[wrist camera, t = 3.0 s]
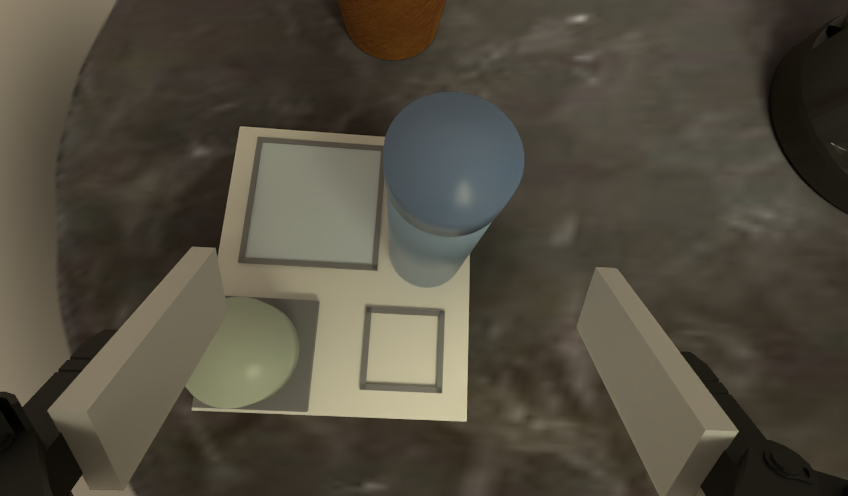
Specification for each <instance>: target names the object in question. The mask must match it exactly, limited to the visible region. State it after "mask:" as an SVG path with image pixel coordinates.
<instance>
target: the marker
mask: <svg viewBox="0 0 848 496" xmlns="http://www.w3.org/2000/svg"><path fill="white" fill-rule="evenodd" d="M383 164H384V180H385V187H386V192H387V211H388V231H389V251H390V259H391V263H392V265H393V267H394V269H395V271H396V272H397V274H398V275H399V276H400V277H401V278H402V279H403V280H405V281H406V282H408V283H410V284H412V285H414V286H418V287H423V288H431V287H436V286H440V285H442V284H444V283H446V282H448V281H449V280H450V279H451V278H452V277H453V276H454V275H455V274H456V273H457V271H458V270H459V269H460V267H461V266H462V264H463V263H464V261H465V260H466V259H467V257H468V256H469V254H470V253H471V251H472V250H473V248H474V247H475V246H476V244H477V243H478V241H479V240H480V238H481V237H482V236H483V234H484V233H485V231H486V230H487V228H488V227H489V226H490V224H491V223H492V221H493V220H494V219H495V218H496V217H497V216H498V215H499V214H500V212H501V211H502V210H503V208H504V207H505V205H506V204H507V203H508V201H509V200H510V198H511V197H512V195H513V194H514V193H515V191H516V189H517V187H518V186H519V184H520V181H521V178H522V175H523V170H524V149H523V145H522V141H521V139H520V136H519V134H518V132H517V130H516V128H515V126H514V125H513V123H512V122H511V121H510V119H509V118H508V117H507V116H506V115H505V114H504V113H503V112H502V111H501V110H500V109H499V108H497V107H496V106H494V105H493V104H491V103H490V102H488V101H486V100H484V99H482V98H480V97H477V96H475V95H471V94H467V93H461V92H438V93H434V94H429V95H427V96H424V97H421V98H419V99H417V100H415V101H413V102H412V103H410V104H409V105H407V106H406V107H405V108H404V109H403V110H401V111H400V112H399V114H398V115H397V116H396V117H395V118H394V120H393V121H392V123H391V125H390V127H389V129H388V131H387V133H386V137H385V140H384V146H383Z"/></svg>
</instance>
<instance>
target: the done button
mask: <svg viewBox="0 0 848 496" xmlns="http://www.w3.org/2000/svg"><path fill="white" fill-rule="evenodd" d="M226 304H227V309H228V313H227V315H226V317H225V319H224V320H223V322H222V324H221V325H220V327H219V329H218V331H217V332H216V334H215V336H214V337H213V339H212V341H211V342H210V344H209V346H208V348H207V349H206V351H205V353H204V354H203V356H202V358H201V360H200V361H199V363H198V365H197V366H196V368H195V370H194V371H193V373H192V375H191V377H190V378H189V380H188V382H187V383H186V385H185V386H186V388H187V389H188V390H189V392H190V393H191V394H192V395H193V396H194V397H196V398H197V399H198V400H200V401H201V402H203V403H205V404H207V405H210V406H213V407H217V408H224V409H232V408H239V407H243V406H247V405H250V404H253V403H256V402H259V401H262V400H265V399H267V398H269V397H271V396H272V395H274V394H275V393H277V392H278V391H279V390H280V389H281V388H282V387H283V386H284V385H285V384H286V383H287V382H288V381H289V379H290V378H291V376H292V374H293V372H294V370H295V368H296V365H297V362H298V358H299V339H298V334H297V332H296V329H295V327H294V325H293V323H292V322H291V320H290V319H289V318H288V317H287V316H286V315H285V314H284V313H283V312H282V311H280V310H279V309H277V308H275V307H273V306H271V305H269V304H266V303H264V302H262V301H259V300H257V299H253V298H249V297H230V298H226Z"/></svg>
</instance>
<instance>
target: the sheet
mask: <svg viewBox="0 0 848 496" xmlns="http://www.w3.org/2000/svg"><path fill="white" fill-rule="evenodd" d="M384 140H385V137H379V136H366V135H352V134H338V133H325V132H311V131H298V130H284V129H270V128H257V127H243V126H240V129H239V135H238V141H237V146H236V152H235V158H234V164H233V170H232V176H231V182H230V188H229V193H228V199H227V205H226V211H225V217H224V223H223V229H222V235H221V240H220V246H219V252H218V263H219V268H220V273H221V278H222V284H223V289H224V294H225V299H226V298H230V297H249V298H253V299H257V300H259V301H262V302H264V303H266V304H269V305H271V306H273V307H275V308H277V309H279V310H280V311H282V312H283V313H284V314H285V315H286V316H287V317H288V318H289V319H290V320H291V322H292V323H293V325H294V327H295V329H296V332H297V334H298V339H299V358H298V362H297V365H296V368H295V370H294V372H293V374H292V376H291V378H290V379H289V381H288V382H287V383H286V384H285V385H284V386H283V387H282V388H281V389H280V390H279V391H278V392H277V393H275V394H274V395H272V396H271V397H269V398H267V399H265V400H262V401H259V402H256V403H253V404H250V405H247V406H243V407H239V408H232V409H224V408H217V407H213V406H210V405H207V404H205V403H203V402H201V401H200V400H198V399H197V398H196V397H194V398H193V404H192V410H195V411H220V412H245V413H270V414H295V415H319V416H344V417H369V418H394V419H419V420H443V421H467V377H468V326H469V275H470V254H469V256H468V257H467V259H466V260H465V261H464V263H463V264H462V266H461V267H460V269H459V270H458V271H457V273H456V274H455V275H454V276H453V277H452V278H451V279H450V280H449V281H448V282H446V283H444V284H442V285H440V286H436V287H431V288H423V287H418V286H414V285H412V284H410V283H408V282H406V281H405V280H403V279H402V278H401V277H400V276H399V275H398V274H397V272H396V271H395V269H394V267H393V265H392V263H391V259H390V251H389V231H388V211H387V192H386V187H385V180H384V164H383V146H384Z"/></svg>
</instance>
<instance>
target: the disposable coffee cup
mask: <svg viewBox="0 0 848 496" xmlns="http://www.w3.org/2000/svg"><path fill="white" fill-rule="evenodd" d="M445 2H446V0H338V3H339V6H340V8H341V13H342V16H343V19H344V22H345V25H346V29H347V32H348V34H349V36H350V38H351V40H352V41H353V42H354V43H355V44H356V45H357V46H358V47H359V48H360V49H361V50H362V51H364V52H366V53H367V54H369V55H371V56H374V57H377V58H380V59H386V60H401V59H406V58H410V57H413V56H415V55H417V54H419V53H420V52H422V51H424V50H425V49H426V48H427V47H428V46H429V45H430V44H431V42H432V41H433V39H434V38H435V35H436V33H437V29H438V25H439V22H440V19H441V15H442V12H443V9H444V5H445Z"/></svg>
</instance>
